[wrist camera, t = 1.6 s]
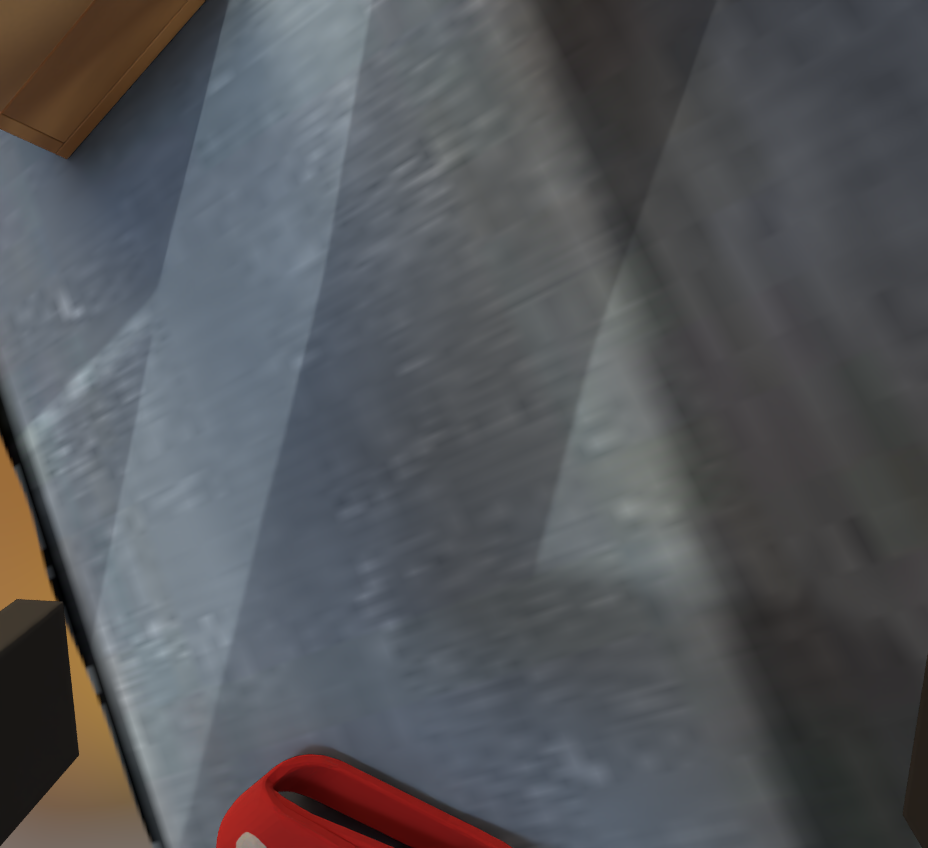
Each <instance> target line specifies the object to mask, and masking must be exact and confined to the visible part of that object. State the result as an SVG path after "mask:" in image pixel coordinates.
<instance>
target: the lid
mask: <svg viewBox="0 0 928 848" xmlns="http://www.w3.org/2000/svg"><path fill="white" fill-rule="evenodd" d="M93 1H94V0H0V112H1V111H2V110H3V109H4V108H5V106H6V105H7V104H8V103H9V102H10V100H11V99H12V98H13V97H14V96H15V94H16V93H17V92H18V91H19V90H20V88H21V87H22V86H23V85H24V84H25V82H26V81H27V80H28V79H29V78H30V76H31V75H32V74H33V73H34V72H35V70H36V69H37V68H38V67H39V66H40V64H41V63H42V62H43V61H44V60H45V58H46V57H47V56H48V55H49V54H50V52H51V51H52V50H53V49H54V48H55V46H56V45H57V44H58V43H59V42H60V40H61V39H62V38H63V37H64V36H65V34H66V33H67V32H68V31H69V30H70V28H71V27H72V26H73V25H74V24H75V22H76V21H77V20H78V19H79V18H80V16H81V15H82V14H83V13H84V12H85V10H86V9H87V8H88V7H89V6H90V4H91V3H92V2H93Z"/></svg>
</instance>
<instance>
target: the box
mask: <svg viewBox="0 0 928 848" xmlns="http://www.w3.org/2000/svg"><path fill="white" fill-rule="evenodd" d="M205 1H206V0H94V1H93V2H92V3H91V4H90V6H89V7H88V8H87V9H86V10H85V12H84V13H83V14H82V15H81V16H80V18H79V19H78V20H77V21H76V22H75V24H74V25H73V26H72V27H71V28H70V30H69V31H68V32H67V33H66V34H65V36H64V37H63V38H62V39H61V40H60V42H59V43H58V44H57V45H56V46H55V48H54V49H53V50H52V51H51V52H50V54H49V55H48V56H47V57H46V58H45V60H44V61H43V62H42V63H41V64H40V66H39V67H38V68H37V69H36V70H35V72H34V73H33V74H32V75H31V76H30V78H29V79H28V80H27V81H26V82H25V84H24V85H23V86H22V87H21V88H20V90H19V91H18V92H17V93H16V94H15V96H14V97H13V98H12V99H11V100H10V102H9V103H8V104H7V105H6V106H5V108H4V109H3V110H2V111H1V112H0V129H1V130H3V131H6V132H8V133H10V134H12V135H15V136H17V137H19V138H21V139H23V140H26V141H28V142H30V143H32V144H35V145H37V146H39V147H41V148H43V149H46V150H48V151H50V152H52V153H55V154H56V155H58V156H61V157H63V158H65V159H68V158H69V157H70V155H71V154H72V153H73V152H74V151H75V150H76V149H77V147H78V146H79V145H80V144H81V143H82V142H83V141H84V139H85V138H86V137H87V136H88V135H89V134H90V132H91V131H92V130H93V129H94V128H95V127H96V126H97V124H98V123H99V122H100V121H101V120H102V119H103V118H104V116H105V115H106V114H107V113H108V112H109V111H110V110H111V108H112V107H113V106H114V105H115V104H116V103H117V102H118V100H119V99H120V98H121V97H122V96H123V95H124V94H125V92H126V91H127V90H128V89H129V88H130V87H131V86H132V84H133V83H134V82H135V81H136V80H137V79H138V77H139V76H140V75H141V74H142V73H143V72H144V71H145V69H146V68H147V67H148V66H149V65H150V64H151V63H152V61H153V60H154V59H155V58H156V57H157V56H158V55H159V53H160V52H161V51H162V50H163V49H164V48H165V47H166V45H167V44H168V43H169V42H170V41H171V40H172V39H173V37H174V36H175V35H176V34H177V33H178V32H179V31H180V29H181V28H182V27H183V26H184V25H185V24H186V23H187V21H188V20H189V19H190V18H191V17H192V16H193V14H194V13H195V12H196V11H197V10H198V9H199V8H200V6H201V5H202V4H203V3H204V2H205Z"/></svg>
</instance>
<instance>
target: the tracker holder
mask: <svg viewBox="0 0 928 848" xmlns="http://www.w3.org/2000/svg"><path fill="white" fill-rule="evenodd" d="M283 791H289V792H295V793H298V794H301V795H304V796H307V797H310V798H312V799H314V800H316V801H318V802H320V803H322V804H324V805H326V806H328V807H330V808H332V809H334V810H336V811H338V812H340V813H342V814H344V815H347V816H349V817H351V818H353V819H355V820H357V821H359V822H361V823H363V824H365V825H367V826H369V827H371V828H373V829H375V830H377V831H379V832H381V833H383V834H385V835H387V836H389V837H391V838H393V839H395V840H397V841H399V842H401V843H403V844H405V845H407V846H409V847H411V848H512V847H511V846H509V845H508V844H506V843H505V842H503V841H501V840H499V839H497V838H495V837H493V836H491V835H490V834H488V833H486V832H484V831H482V830H480V829H478V828H476V827H474V826H472V825H470V824H468V823H466V822H464V821H462V820H460V819H458V818H456V817H454V816H451V815H449V814H447V813H445V812H443V811H441V810H439V809H437V808H435V807H433V806H431V805H429V804H427V803H425V802H423V801H421V800H419V799H417V798H415V797H413V796H411V795H409V794H407V793H405V792H403V791H401V790H399V789H397V788H395V787H393V786H391V785H389V784H387V783H385V782H383V781H381V780H379V779H377V778H375V777H373V776H371V775H369V774H367V773H365V772H363V771H361V770H359V769H357V768H355V767H353V766H351V765H349V764H347V763H345V762H343V761H340V760H338V759H334V758H331V757H328V756H324V755H312V754H308V755H301V756H296V757H293V758H290V759H288V760H286V761H283V762H282V763H280V764H278V765H277V766H275V767H274V768H273V769H272V770H270V771H269V772H268V773H267V774H266V775H264V776H263V777H262V778H261V779H260V780H258V781H257V782H256V783H255V784H254V785H252V786H251V787H250V788H249V789H248V790H246V791H245V792H244V793H243V794H242V795H241V796H240V797H239V798H238V799H237V800H236V801H235V802H234V803H233V805H232V806H231V807H230V809H229V810H228V812H227V813H226V815H225V816H224V818H223V820H222V822H221V825H220V828H219V831H218V837H217V845H216V848H394V847H391V846H389V845H387V844H384V843H382V842H379V841H377V840H375V839H372V838H370V837H367V836H365V835H362V834H360V833H358V832H355V831H353V830H350V829H348V828H345V827H343V826H341V825H338V824H336V823H333V822H331V821H329V820H326V819H324V818H321V817H319V816H316V815H314V814H312V813H310V812H308V811H306V810H305V809H303V808H301V807H300V806H298V805H296V804H294V803H293V802H291V801H289V800H288V799H286V798H284V797H283V796H281V795H280V794H279V793H278V792H283Z"/></svg>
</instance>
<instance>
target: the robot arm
mask: <svg viewBox="0 0 928 848" xmlns="http://www.w3.org/2000/svg"><path fill="white" fill-rule="evenodd" d="M70 675H71V674H70V665H69V656H68V645H67V636H66V626H65V617H64V607H63V602H58V601H40V600H22V599H16V600H15V601H14V602H12V603H11V604H10V605H8V606H7V607H5V608H4V609H3V610H1V611H0V846H1V845H2V844H3V842H4V841H5V840H6V839H7V838H8V836H9V835H10V834H11V833H12V832H13V831H14V830H15V829H16V827H17V826H18V825H19V824H20V822H22V820H23V819H24V818H25V817H26V816H27V815H28V814H29V812H30V811H31V810H32V809H33V808H34V806H35V805H36V804H37V803H38V802H39V801H40V800H41V798H42V797H43V796H44V795H45V794H46V793H47V792H48V790H49V789H50V788H51V787H52V786H53V785H54V783H55V782H56V781H57V780H58V779H59V778H60V776H61V775H62V774H63V773H64V772H65V771H66V770H67V768H68V767H69V766H70V765H71V764H72V763H73V761H74V760H75V759H76V758H77V757H78V756H79V750H78V742H77V733H76V732H77V731H76V721H75V712H74V703H73V693H72V683H71V676H70ZM903 816H904V818H905V820H906V821H907V823H908V825H909V827H910V828H911V830H912V832H913V833H914V835H915V837H916V838H917V840H918V842H919V843H920V845H921V847H922V848H928V655H927V662H926V668H925V675H924V681H923V687H922V694H921V700H920V706H919V713H918V719H917V726H916V732H915V738H914V745H913V751H912V757H911V764H910V770H909V777H908V783H907V789H906V796H905V802H904V808H903Z"/></svg>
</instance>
